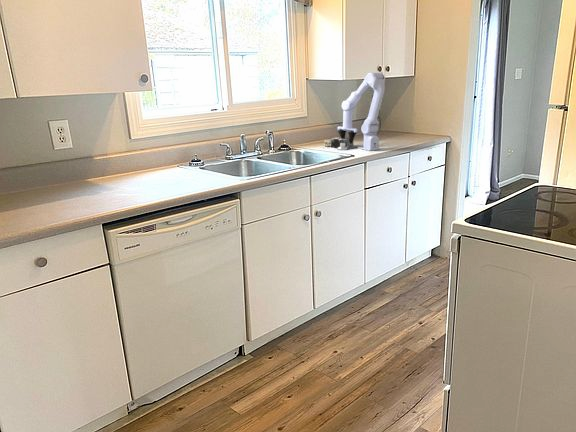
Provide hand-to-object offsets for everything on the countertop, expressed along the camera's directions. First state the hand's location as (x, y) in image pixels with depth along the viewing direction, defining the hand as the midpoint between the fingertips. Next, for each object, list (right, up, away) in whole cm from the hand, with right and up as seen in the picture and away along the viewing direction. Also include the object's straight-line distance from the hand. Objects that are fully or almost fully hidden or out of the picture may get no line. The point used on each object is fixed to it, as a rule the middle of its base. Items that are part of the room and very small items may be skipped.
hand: (346, 142), depth 291 cm
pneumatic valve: (-14, +1, +2) cm, 14 cm away
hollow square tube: (0, -3, 0) cm, 3 cm away
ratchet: (-1, -5, -8) cm, 10 cm away
